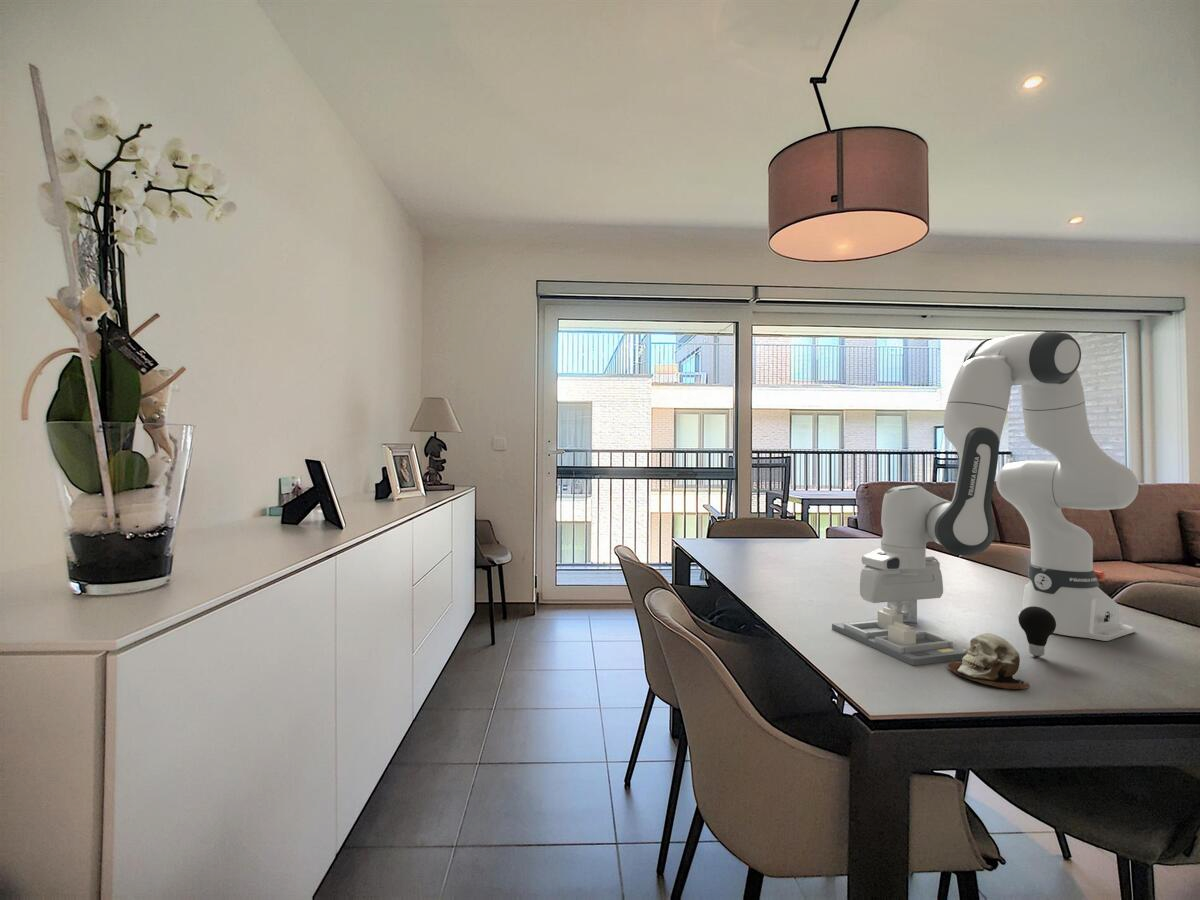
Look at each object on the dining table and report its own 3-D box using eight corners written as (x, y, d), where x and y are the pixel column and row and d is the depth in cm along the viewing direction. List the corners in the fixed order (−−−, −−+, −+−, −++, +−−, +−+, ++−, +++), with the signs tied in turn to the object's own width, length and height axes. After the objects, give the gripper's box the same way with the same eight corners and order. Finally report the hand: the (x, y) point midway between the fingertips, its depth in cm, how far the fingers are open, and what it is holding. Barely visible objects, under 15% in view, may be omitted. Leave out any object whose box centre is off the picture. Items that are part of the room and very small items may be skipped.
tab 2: (899, 641, 114) (899, 620, 114) (915, 647, 110) (915, 626, 110) (887, 642, 113) (888, 621, 113) (903, 649, 109) (904, 627, 109)
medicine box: (917, 623, 130) (917, 586, 130) (897, 621, 131) (897, 585, 131) (905, 613, 138) (906, 579, 138) (886, 612, 139) (887, 578, 139)
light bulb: (1046, 664, 105) (1047, 612, 105) (1011, 654, 110) (1012, 604, 110) (1061, 659, 108) (1062, 609, 108) (1027, 650, 113) (1027, 601, 113)
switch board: (831, 629, 125) (832, 619, 125) (881, 624, 129) (881, 614, 129) (912, 665, 104) (912, 654, 104) (968, 658, 108) (969, 647, 108)
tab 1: (888, 625, 124) (888, 606, 124) (902, 631, 120) (902, 611, 120) (877, 626, 123) (877, 607, 123) (891, 632, 119) (892, 612, 119)
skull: (987, 689, 92) (956, 630, 99) (954, 709, 99) (927, 653, 106) (1053, 684, 93) (1017, 626, 100) (1016, 704, 101) (985, 649, 107)
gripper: (927, 553, 129) (926, 612, 129) (855, 556, 123) (854, 618, 123) (951, 558, 123) (950, 620, 123) (877, 562, 117) (876, 627, 117)
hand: (901, 619), depth 123 cm, fingers closed
